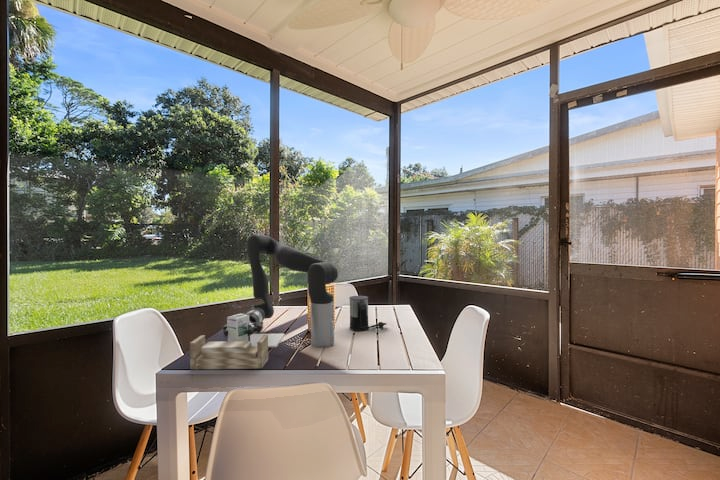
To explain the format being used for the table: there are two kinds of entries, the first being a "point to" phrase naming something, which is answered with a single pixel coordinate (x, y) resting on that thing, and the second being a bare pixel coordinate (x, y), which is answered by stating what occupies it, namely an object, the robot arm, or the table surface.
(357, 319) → the milk frother
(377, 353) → the table surface
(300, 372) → the table surface
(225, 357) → the offcut rack
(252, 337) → the white mat
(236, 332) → the syrup box
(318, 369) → the table surface
